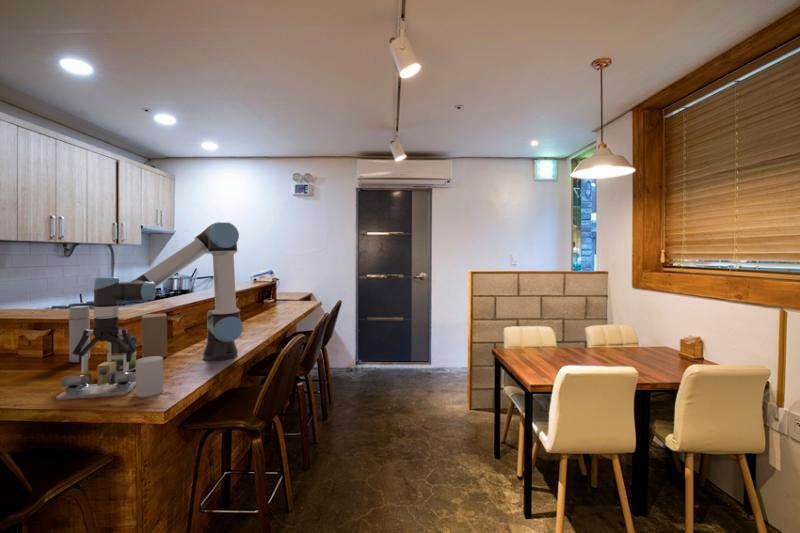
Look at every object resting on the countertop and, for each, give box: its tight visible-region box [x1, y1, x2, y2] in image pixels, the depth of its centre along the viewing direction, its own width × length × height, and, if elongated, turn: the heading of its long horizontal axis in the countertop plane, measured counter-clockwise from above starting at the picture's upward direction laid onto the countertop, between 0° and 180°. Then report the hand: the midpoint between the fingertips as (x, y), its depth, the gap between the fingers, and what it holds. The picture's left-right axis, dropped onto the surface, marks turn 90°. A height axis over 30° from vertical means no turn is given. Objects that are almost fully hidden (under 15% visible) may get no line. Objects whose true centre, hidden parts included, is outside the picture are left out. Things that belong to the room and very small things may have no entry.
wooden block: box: [141, 312, 168, 358], centre depth 176 cm, size 10×10×20 cm
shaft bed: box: [55, 371, 136, 401], centre depth 130 cm, size 21×11×7 cm, turn 105°
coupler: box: [96, 361, 116, 384], centre depth 141 cm, size 5×4×7 cm
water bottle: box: [67, 305, 91, 364], centre depth 167 cm, size 9×8×25 cm
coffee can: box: [106, 334, 138, 373], centre depth 155 cm, size 10×10×14 cm
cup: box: [135, 356, 164, 398], centre depth 130 cm, size 8×8×12 cm
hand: (105, 371), depth 141 cm, fingers open, 13 cm apart
